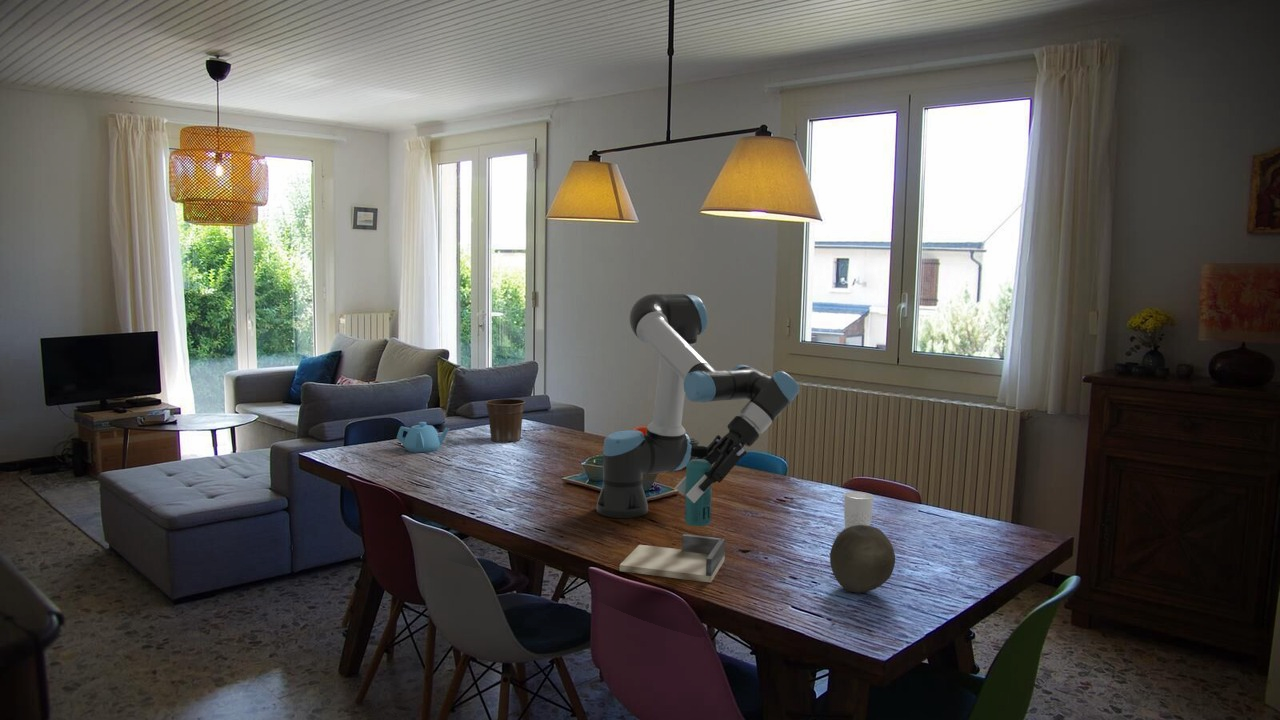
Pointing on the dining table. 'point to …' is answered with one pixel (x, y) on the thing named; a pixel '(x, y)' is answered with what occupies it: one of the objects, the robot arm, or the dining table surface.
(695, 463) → the beverage bottle
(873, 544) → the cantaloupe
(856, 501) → the white cup
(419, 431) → the teapot
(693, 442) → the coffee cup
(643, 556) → the corner board
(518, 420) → the plant pot
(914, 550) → the dining table surface
